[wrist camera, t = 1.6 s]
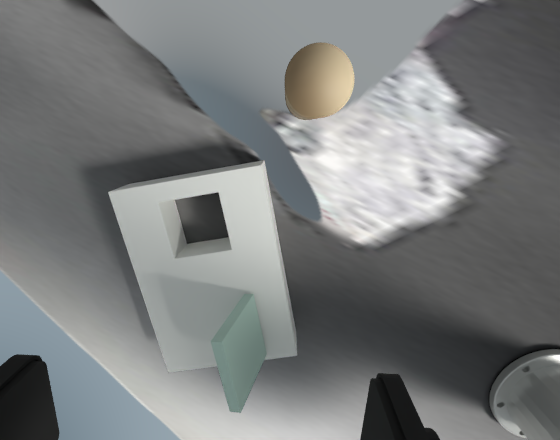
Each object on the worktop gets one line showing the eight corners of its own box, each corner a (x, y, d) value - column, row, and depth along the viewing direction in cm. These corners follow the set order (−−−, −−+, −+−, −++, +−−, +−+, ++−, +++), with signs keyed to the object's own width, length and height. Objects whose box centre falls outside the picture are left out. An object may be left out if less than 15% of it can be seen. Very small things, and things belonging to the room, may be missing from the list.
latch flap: (244, 294, 31) (253, 294, 31) (257, 353, 33) (266, 353, 33) (210, 341, 25) (221, 342, 25) (229, 411, 27) (240, 412, 27)
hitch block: (264, 160, 32) (261, 165, 28) (296, 331, 37) (297, 355, 33) (128, 183, 33) (108, 192, 29) (180, 348, 38) (168, 372, 34)
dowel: (325, 70, 29) (350, 36, 18) (330, 115, 30) (357, 111, 19) (281, 78, 30) (279, 50, 18) (289, 123, 31) (290, 123, 19)
